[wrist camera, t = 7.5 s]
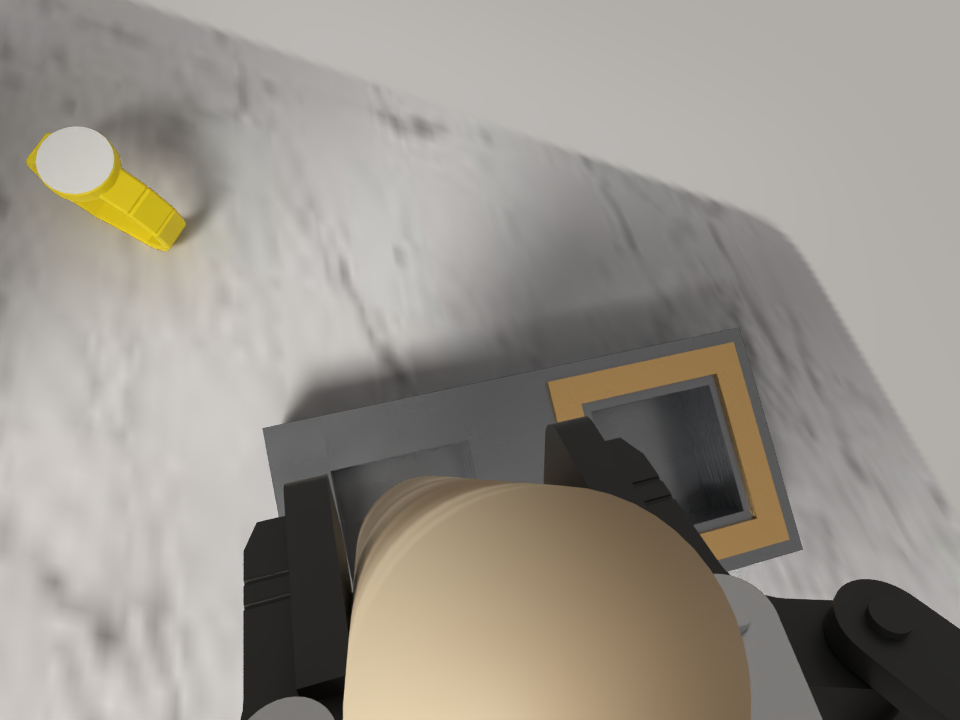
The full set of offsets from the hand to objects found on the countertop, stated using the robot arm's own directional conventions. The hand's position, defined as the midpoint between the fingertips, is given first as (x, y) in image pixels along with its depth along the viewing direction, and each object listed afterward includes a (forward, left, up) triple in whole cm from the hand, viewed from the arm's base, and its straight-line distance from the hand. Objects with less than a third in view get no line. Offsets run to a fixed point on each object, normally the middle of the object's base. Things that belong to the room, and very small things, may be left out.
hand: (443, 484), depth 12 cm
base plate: (+6, -2, -19) cm, 20 cm away
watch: (-9, +14, -19) cm, 25 cm away
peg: (0, -2, -7) cm, 7 cm away
